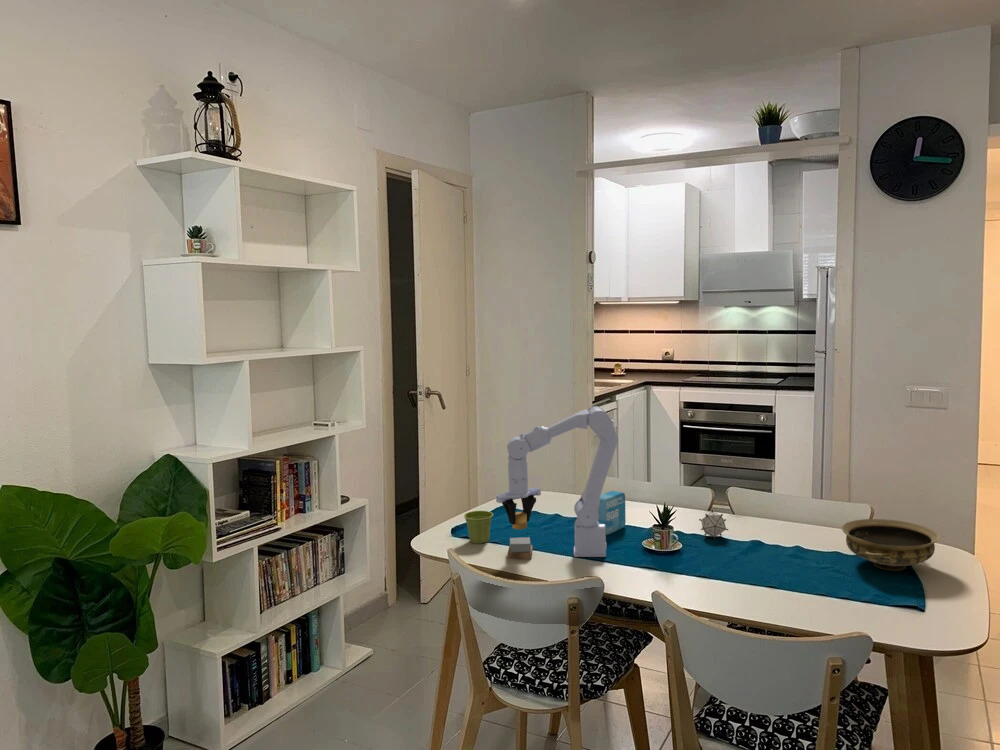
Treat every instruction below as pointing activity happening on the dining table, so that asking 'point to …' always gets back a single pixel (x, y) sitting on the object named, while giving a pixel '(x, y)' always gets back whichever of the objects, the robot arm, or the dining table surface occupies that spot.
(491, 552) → the dining table surface
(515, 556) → the walnut base block
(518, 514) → the golden brown cylinder
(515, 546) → the grey painted block
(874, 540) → the ceramic bowl
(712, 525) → the grey spiked ball
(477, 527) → the plant pot
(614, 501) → the data package
